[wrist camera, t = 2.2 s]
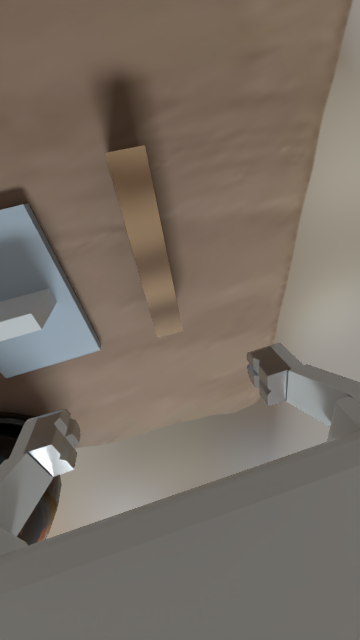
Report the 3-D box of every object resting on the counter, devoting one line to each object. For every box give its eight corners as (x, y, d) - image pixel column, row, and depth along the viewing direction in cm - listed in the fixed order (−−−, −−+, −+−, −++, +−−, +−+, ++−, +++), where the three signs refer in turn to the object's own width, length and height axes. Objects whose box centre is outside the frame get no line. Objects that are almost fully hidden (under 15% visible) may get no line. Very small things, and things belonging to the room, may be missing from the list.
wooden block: (108, 159, 24) (104, 152, 19) (140, 153, 24) (145, 145, 19) (152, 315, 35) (157, 338, 30) (174, 310, 35) (182, 331, 30)
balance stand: (-108, 237, 23) (-201, 257, 17) (28, 203, 24) (-8, 210, 18) (10, 371, 34) (-18, 417, 27) (101, 344, 35) (95, 381, 28)
